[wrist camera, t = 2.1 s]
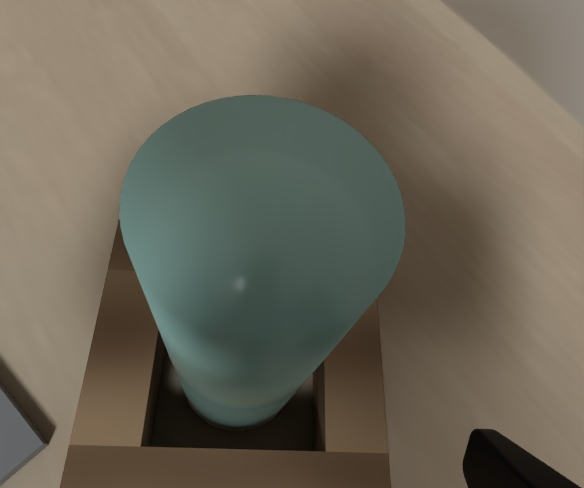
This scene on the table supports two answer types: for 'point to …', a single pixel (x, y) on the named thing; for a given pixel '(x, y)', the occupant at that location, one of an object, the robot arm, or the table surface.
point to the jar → (257, 246)
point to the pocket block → (205, 461)
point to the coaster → (16, 437)
